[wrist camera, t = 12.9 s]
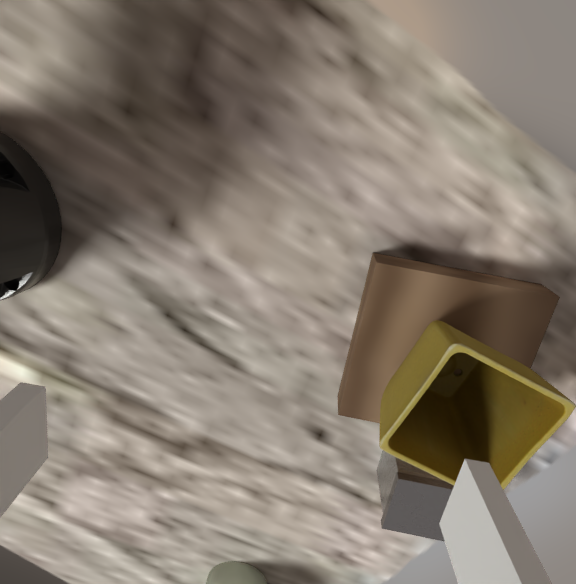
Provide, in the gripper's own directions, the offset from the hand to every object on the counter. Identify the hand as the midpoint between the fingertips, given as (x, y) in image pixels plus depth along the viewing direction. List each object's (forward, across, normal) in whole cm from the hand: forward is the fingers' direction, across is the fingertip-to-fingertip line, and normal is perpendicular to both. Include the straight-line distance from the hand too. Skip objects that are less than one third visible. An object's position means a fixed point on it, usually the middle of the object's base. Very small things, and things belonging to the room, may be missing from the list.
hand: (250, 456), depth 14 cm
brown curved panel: (+24, +14, -6) cm, 28 cm away
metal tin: (+24, +15, -18) cm, 33 cm away
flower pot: (+21, +14, -6) cm, 26 cm away
